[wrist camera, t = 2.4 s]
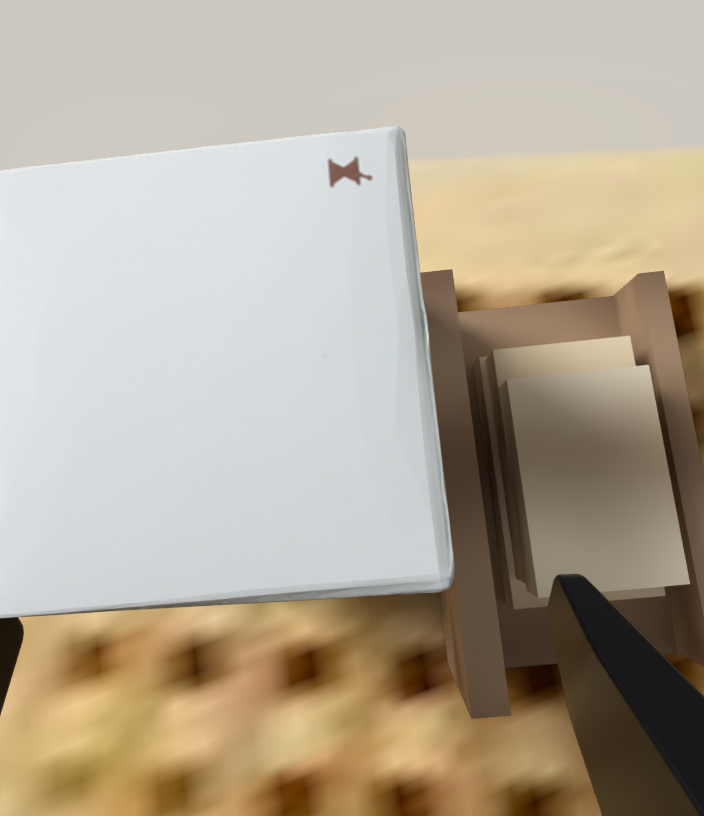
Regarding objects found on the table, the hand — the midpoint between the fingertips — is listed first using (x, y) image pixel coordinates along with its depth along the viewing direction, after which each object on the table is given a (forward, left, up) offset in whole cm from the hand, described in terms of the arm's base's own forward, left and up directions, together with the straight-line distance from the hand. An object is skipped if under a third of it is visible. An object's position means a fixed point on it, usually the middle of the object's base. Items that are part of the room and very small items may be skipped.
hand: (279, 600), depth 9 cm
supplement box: (+4, +1, -11) cm, 12 cm away
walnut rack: (+2, -8, -11) cm, 14 cm away
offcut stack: (+2, -8, -10) cm, 13 cm away
